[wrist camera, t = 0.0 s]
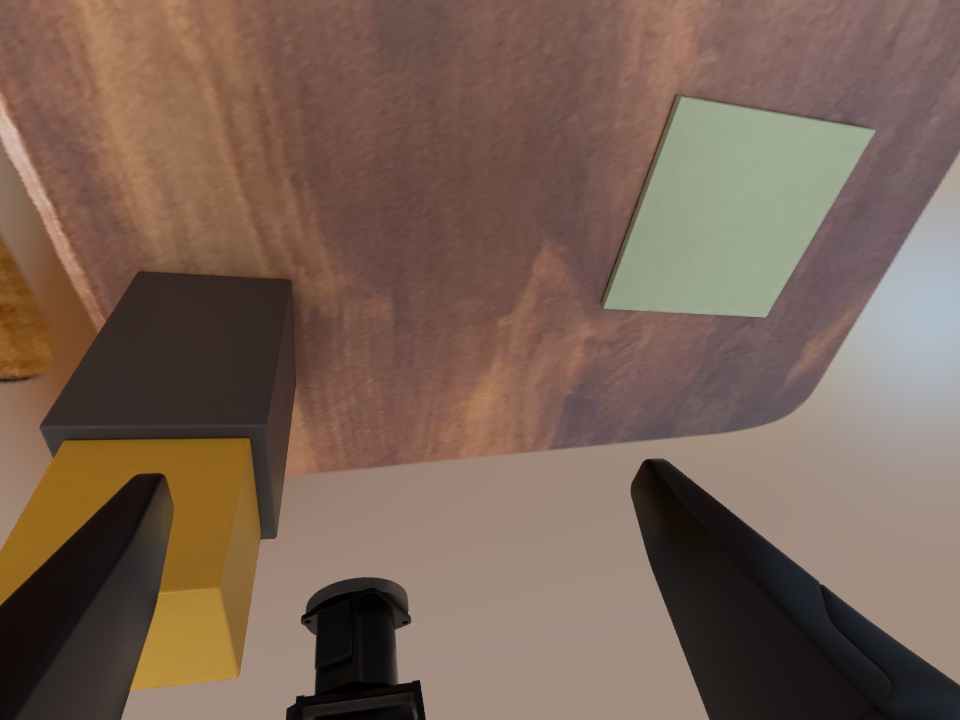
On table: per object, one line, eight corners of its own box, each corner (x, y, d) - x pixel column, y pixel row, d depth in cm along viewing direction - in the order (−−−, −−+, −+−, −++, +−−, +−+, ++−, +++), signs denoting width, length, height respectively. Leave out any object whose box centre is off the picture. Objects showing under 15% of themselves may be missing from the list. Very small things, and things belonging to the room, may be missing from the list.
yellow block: (250, 437, 16) (219, 588, 13) (261, 532, 19) (239, 679, 16) (63, 439, 15) (-35, 608, 11) (105, 541, 18) (39, 703, 14)
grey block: (291, 280, 23) (266, 425, 16) (296, 384, 27) (276, 539, 20) (137, 270, 22) (37, 426, 15) (163, 382, 25) (92, 550, 18)
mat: (869, 127, 24) (876, 130, 24) (761, 313, 30) (766, 317, 29) (676, 94, 21) (681, 96, 21) (600, 305, 27) (603, 308, 27)
